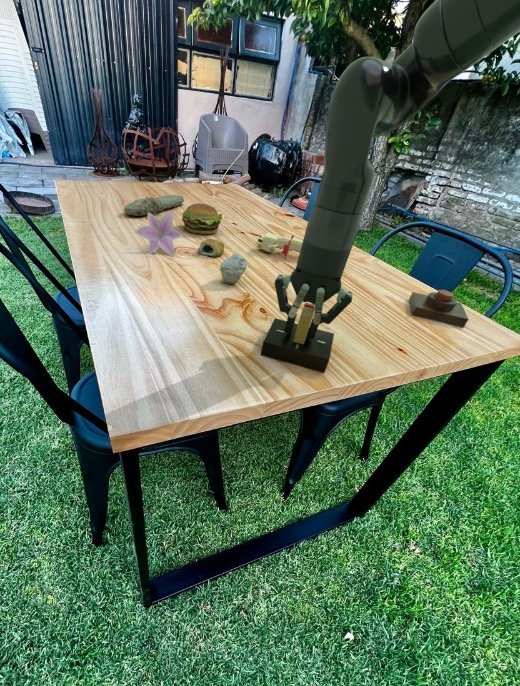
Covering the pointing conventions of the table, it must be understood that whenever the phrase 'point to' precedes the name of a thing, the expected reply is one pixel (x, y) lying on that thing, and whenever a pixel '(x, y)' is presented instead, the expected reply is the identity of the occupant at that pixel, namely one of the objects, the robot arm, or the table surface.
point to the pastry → (211, 247)
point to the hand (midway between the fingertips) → (298, 336)
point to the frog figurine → (233, 268)
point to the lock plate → (298, 347)
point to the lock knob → (304, 323)
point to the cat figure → (279, 243)
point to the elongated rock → (152, 205)
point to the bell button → (444, 295)
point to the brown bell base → (437, 309)
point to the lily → (160, 233)
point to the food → (201, 219)
